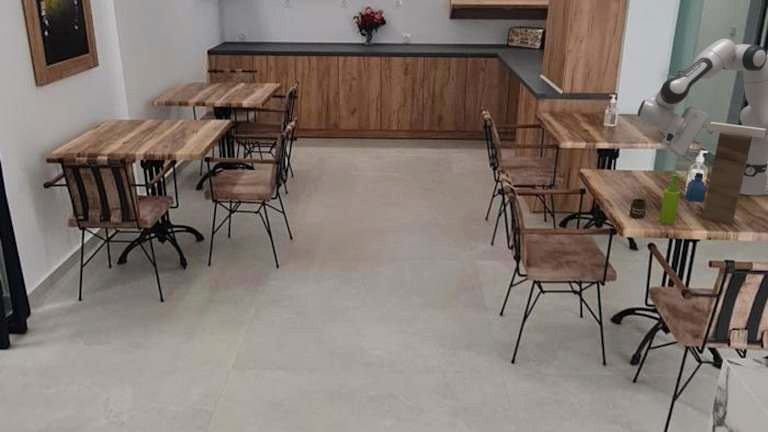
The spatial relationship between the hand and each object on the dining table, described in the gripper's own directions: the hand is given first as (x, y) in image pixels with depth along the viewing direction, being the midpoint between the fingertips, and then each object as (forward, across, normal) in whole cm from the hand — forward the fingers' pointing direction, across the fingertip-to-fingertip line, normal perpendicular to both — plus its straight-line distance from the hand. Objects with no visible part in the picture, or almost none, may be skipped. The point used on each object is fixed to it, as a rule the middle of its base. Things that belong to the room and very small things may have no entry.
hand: (706, 142), depth 268 cm
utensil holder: (-7, +40, 0) cm, 41 cm away
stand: (+21, +23, -6) cm, 32 cm away
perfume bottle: (+12, +18, -27) cm, 35 cm away
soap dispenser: (+4, +36, +3) cm, 36 cm away
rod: (+7, -6, +8) cm, 13 cm away
